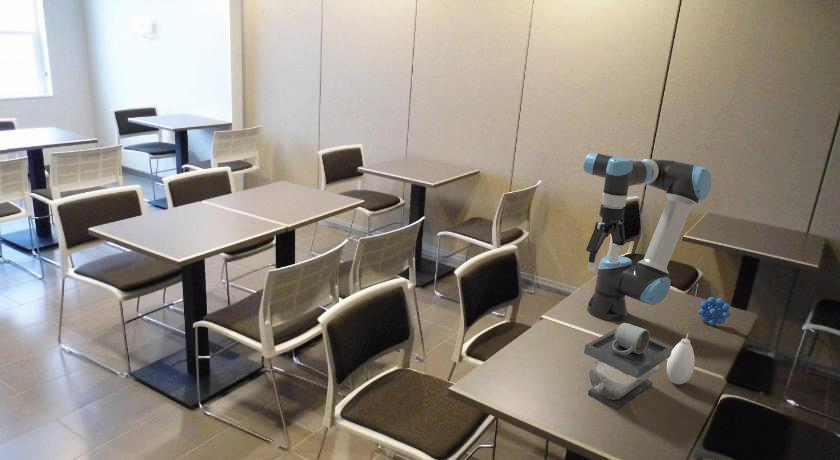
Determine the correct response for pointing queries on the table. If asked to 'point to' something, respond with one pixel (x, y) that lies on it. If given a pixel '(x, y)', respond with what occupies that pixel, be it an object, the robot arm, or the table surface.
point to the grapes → (714, 311)
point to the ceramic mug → (631, 339)
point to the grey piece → (622, 370)
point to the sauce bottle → (681, 362)
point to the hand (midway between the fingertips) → (602, 266)
